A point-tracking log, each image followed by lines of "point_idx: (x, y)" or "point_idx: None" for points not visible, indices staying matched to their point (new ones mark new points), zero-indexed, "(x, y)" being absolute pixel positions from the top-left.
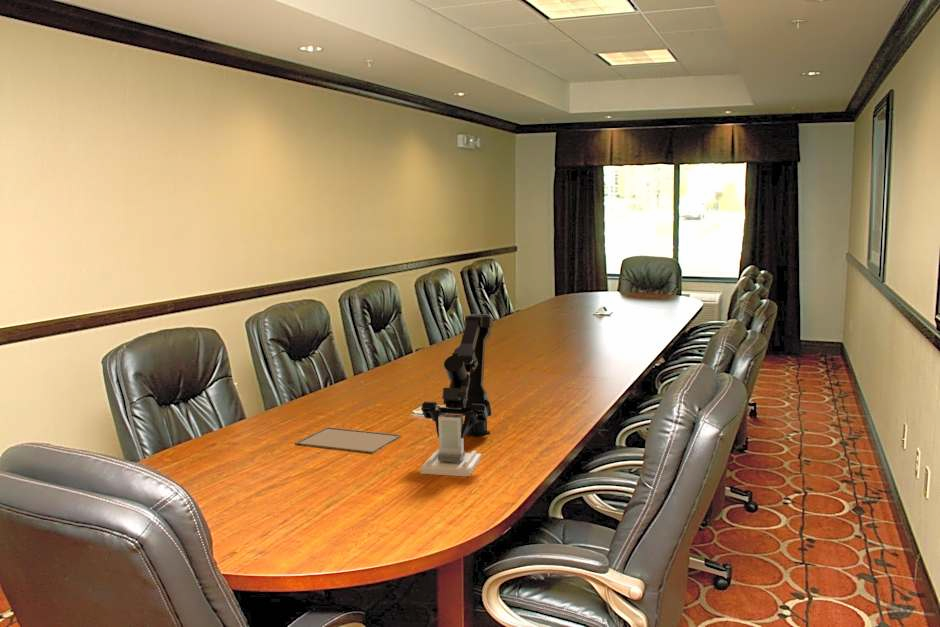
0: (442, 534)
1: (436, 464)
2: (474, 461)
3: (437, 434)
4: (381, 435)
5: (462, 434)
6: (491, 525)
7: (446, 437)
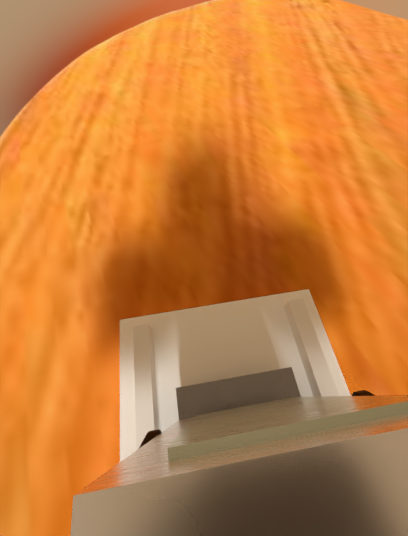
0: (103, 71)
1: (278, 353)
2: None
3: (371, 393)
4: None
5: (141, 446)
6: (26, 105)
7: (284, 404)
